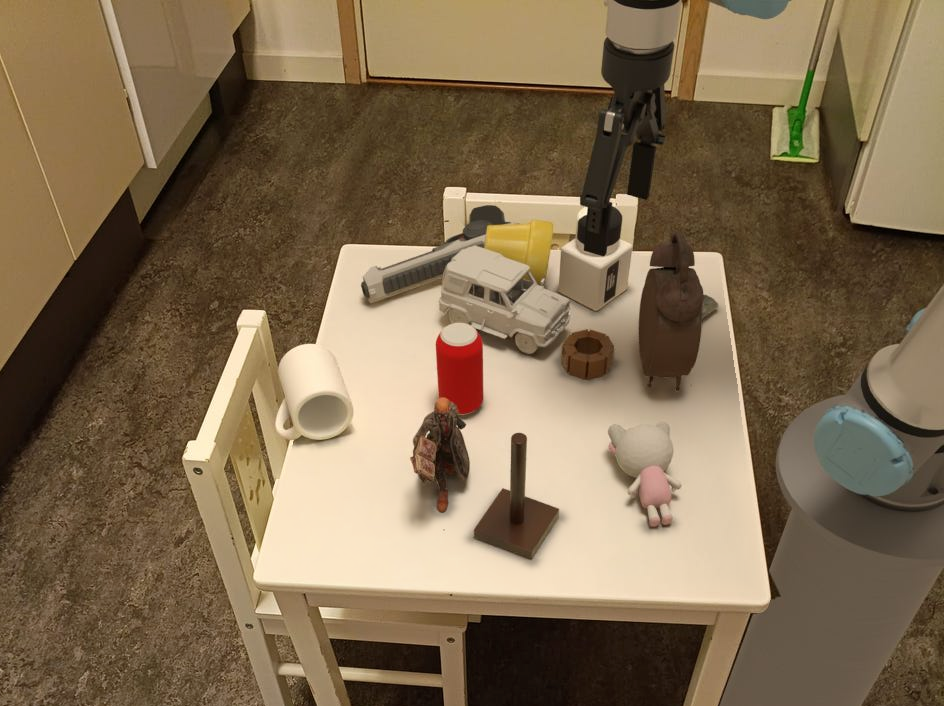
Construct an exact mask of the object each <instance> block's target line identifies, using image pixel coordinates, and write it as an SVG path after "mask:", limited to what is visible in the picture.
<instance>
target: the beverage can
mask: <svg viewBox="0 0 944 706" xmlns="http://www.w3.org/2000/svg"><path fill="white" fill-rule="evenodd" d="M435 340H436V341H435V357H436V358H435V359H436V374H437V389H438V391H437V393H438V399H439V398H447V399H448V400H449V401H450V402H453V403H454V404H455V405H456V406H457V409H458V410H459V414H458V416H464V415H469V414H472V413H474V412H476V411H478V409H479V408H481V406H482V404H483V402H484V343H483V338H482V336H481V335H480V333H479V332H478V329H476V328H474V327H473V326H471V324H470V325H469V324H465V323H453V324H452V323H449V324H448V325H445V326H444V327H443V328H442V329H441V330H440V332H439V334H438V335H437V338H436V339H435Z"/></svg>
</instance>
